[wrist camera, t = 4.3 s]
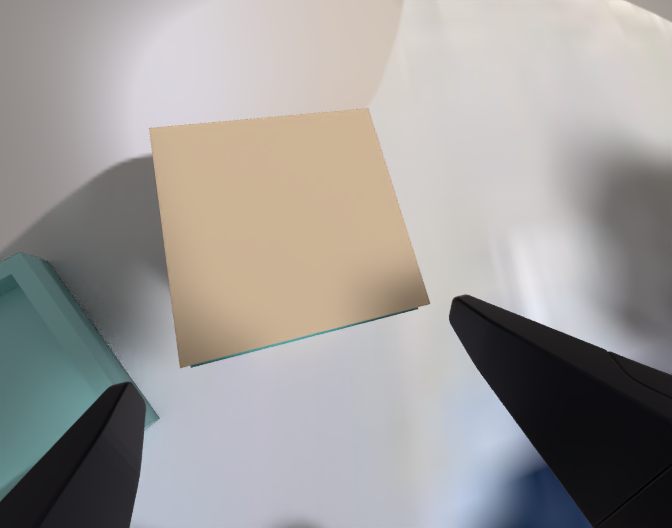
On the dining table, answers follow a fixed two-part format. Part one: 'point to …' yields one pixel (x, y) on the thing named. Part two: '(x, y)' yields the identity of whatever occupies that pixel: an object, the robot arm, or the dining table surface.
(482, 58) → the dining table surface
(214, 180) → the carton
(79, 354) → the tray
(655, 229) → the dining table surface
